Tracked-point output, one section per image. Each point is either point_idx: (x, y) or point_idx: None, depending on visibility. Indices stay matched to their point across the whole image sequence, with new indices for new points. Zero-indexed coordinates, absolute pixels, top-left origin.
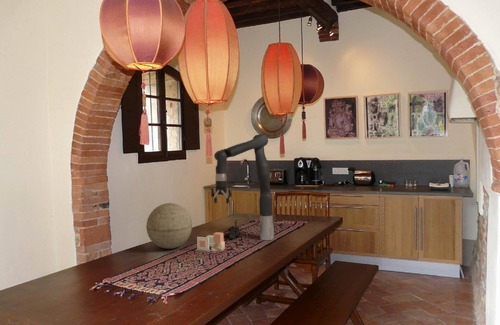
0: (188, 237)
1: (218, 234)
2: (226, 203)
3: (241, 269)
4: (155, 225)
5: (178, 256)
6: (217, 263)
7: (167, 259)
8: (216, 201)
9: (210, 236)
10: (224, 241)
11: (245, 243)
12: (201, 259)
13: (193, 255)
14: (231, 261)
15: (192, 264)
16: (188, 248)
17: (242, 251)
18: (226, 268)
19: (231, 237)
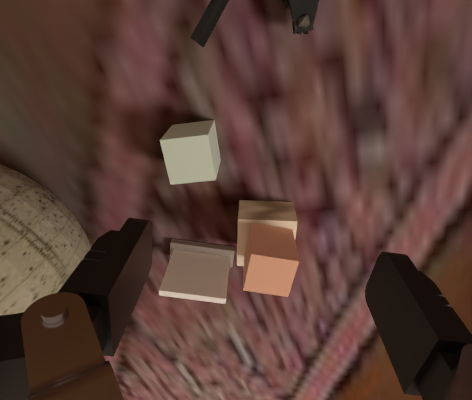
0: (88, 241)
1: (276, 294)
2: (367, 293)
3: (385, 393)
4: None
5: (137, 315)
6: (302, 361)
7: (119, 343)
8: (141, 256)
9: (190, 166)
10: (296, 223)
11: (404, 83)
12: (235, 335)
13: (187, 301)
14: (347, 343)
15: (224, 372)
16: (115, 220)
17: (386, 236)
18: (338, 390)
19: (308, 30)
